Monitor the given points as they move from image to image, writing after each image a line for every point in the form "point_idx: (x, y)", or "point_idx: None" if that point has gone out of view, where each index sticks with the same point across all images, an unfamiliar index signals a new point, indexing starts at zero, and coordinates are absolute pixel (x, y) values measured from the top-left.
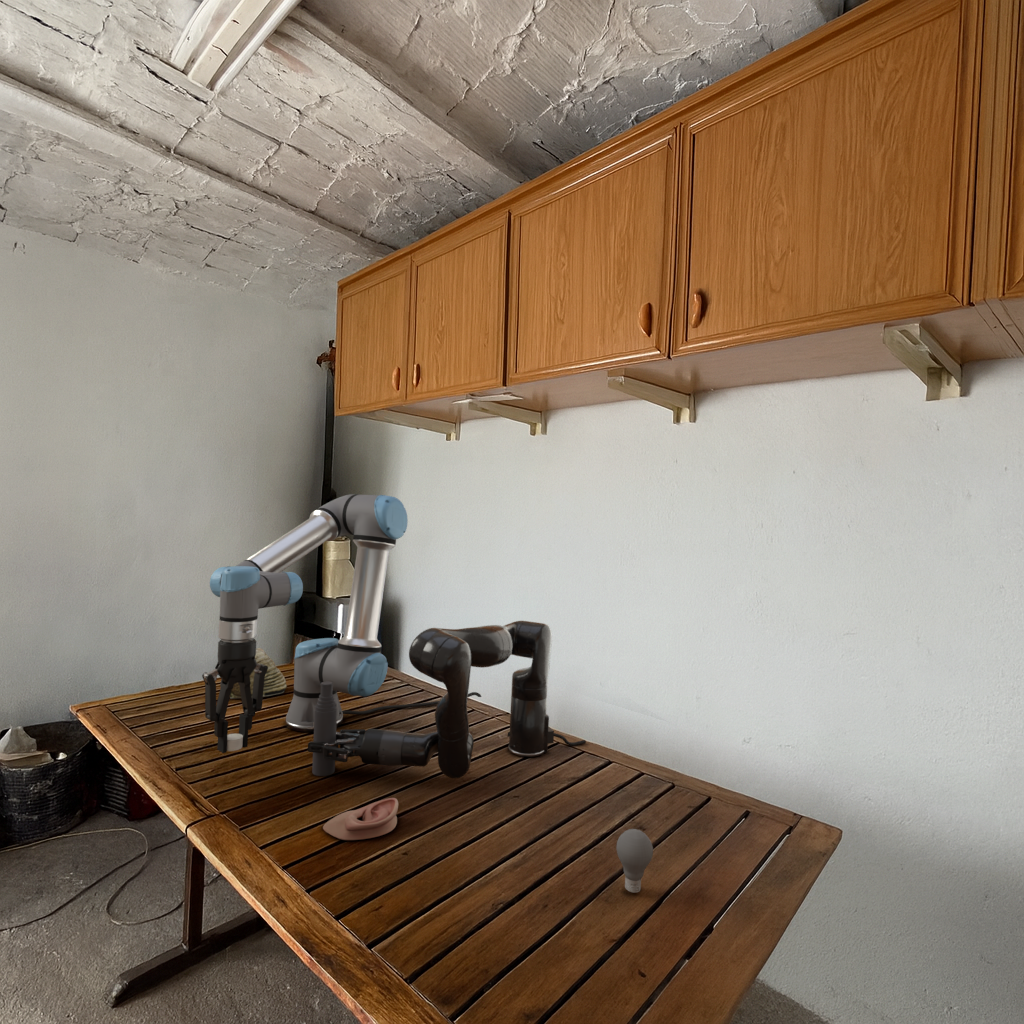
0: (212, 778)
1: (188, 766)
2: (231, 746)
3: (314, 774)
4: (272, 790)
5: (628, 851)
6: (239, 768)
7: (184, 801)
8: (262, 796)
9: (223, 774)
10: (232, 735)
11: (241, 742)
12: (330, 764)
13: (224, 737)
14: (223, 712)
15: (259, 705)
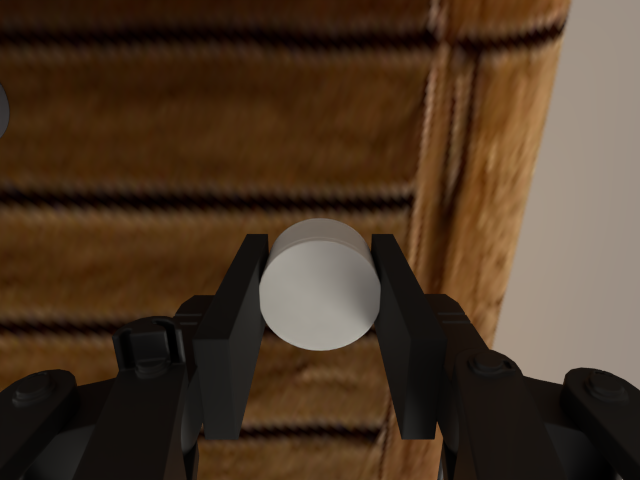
0: None
1: (343, 433)
2: (352, 235)
3: (5, 95)
4: (205, 85)
5: None
6: None
7: (471, 221)
8: (257, 62)
9: None
10: (314, 319)
11: (287, 238)
12: None
13: (407, 273)
14: (505, 423)
15: (7, 419)
